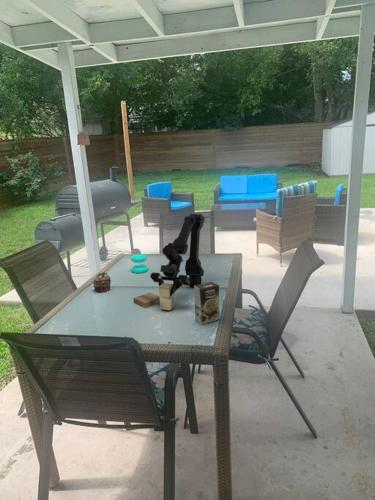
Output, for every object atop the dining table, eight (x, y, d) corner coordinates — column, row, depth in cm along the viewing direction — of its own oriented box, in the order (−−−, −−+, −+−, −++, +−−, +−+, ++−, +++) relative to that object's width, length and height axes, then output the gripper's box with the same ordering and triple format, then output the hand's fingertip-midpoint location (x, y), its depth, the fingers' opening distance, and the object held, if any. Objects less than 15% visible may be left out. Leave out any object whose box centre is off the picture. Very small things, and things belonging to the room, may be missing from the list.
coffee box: (202, 325, 166) (200, 289, 162) (195, 319, 171) (193, 285, 167) (220, 320, 170) (219, 285, 166) (212, 315, 175) (211, 281, 171)
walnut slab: (150, 298, 201) (149, 292, 200) (162, 303, 193) (161, 297, 192) (133, 303, 194) (133, 297, 194) (145, 308, 187) (144, 303, 186)
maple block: (165, 304, 187) (163, 283, 184) (174, 306, 185) (173, 284, 182) (160, 308, 182) (158, 286, 180) (169, 310, 180) (168, 287, 178)
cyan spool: (127, 257, 241) (137, 253, 249) (128, 272, 244) (138, 268, 252) (139, 258, 236) (150, 254, 244) (141, 274, 238) (151, 270, 247)
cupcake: (105, 286, 221) (103, 269, 218) (115, 289, 214) (113, 272, 211) (90, 290, 214) (88, 273, 212) (99, 294, 208) (97, 276, 205)
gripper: (150, 256, 185) (140, 285, 178) (186, 258, 177) (177, 289, 170) (159, 267, 194) (150, 295, 187) (193, 270, 186) (185, 300, 179)
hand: (165, 295), depth 181 cm, fingers closed on maple block, 5 cm apart
